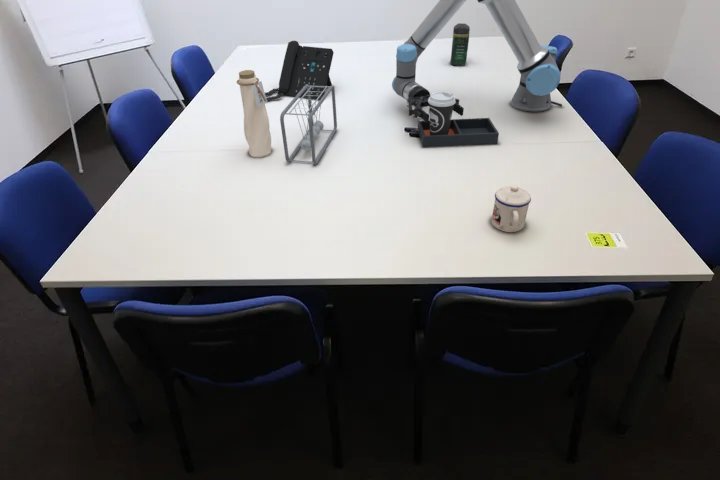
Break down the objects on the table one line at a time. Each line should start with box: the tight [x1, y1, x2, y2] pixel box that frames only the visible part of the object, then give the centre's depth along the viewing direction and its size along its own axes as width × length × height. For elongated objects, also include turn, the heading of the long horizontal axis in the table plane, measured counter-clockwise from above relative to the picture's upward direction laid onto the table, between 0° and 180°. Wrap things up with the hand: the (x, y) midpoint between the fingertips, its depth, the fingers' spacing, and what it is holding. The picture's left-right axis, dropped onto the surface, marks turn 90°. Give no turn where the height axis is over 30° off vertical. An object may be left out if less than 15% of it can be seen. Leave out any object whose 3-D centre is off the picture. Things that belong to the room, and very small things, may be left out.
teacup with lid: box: [491, 184, 532, 233], centre depth 124 cm, size 12×9×12 cm
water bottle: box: [236, 69, 272, 158], centre depth 159 cm, size 10×9×28 cm
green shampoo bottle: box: [450, 22, 471, 67], centre depth 234 cm, size 10×8×19 cm
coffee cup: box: [428, 91, 456, 135], centre depth 167 cm, size 10×10×15 cm
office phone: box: [265, 40, 334, 102], centre depth 206 cm, size 29×28×20 cm
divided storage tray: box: [417, 117, 500, 148], centre depth 171 cm, size 26×14×4 cm, turn 92°
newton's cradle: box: [279, 84, 338, 166], centre depth 164 cm, size 30×10×18 cm, turn 168°
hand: (445, 115), depth 163 cm, fingers open, 13 cm apart
